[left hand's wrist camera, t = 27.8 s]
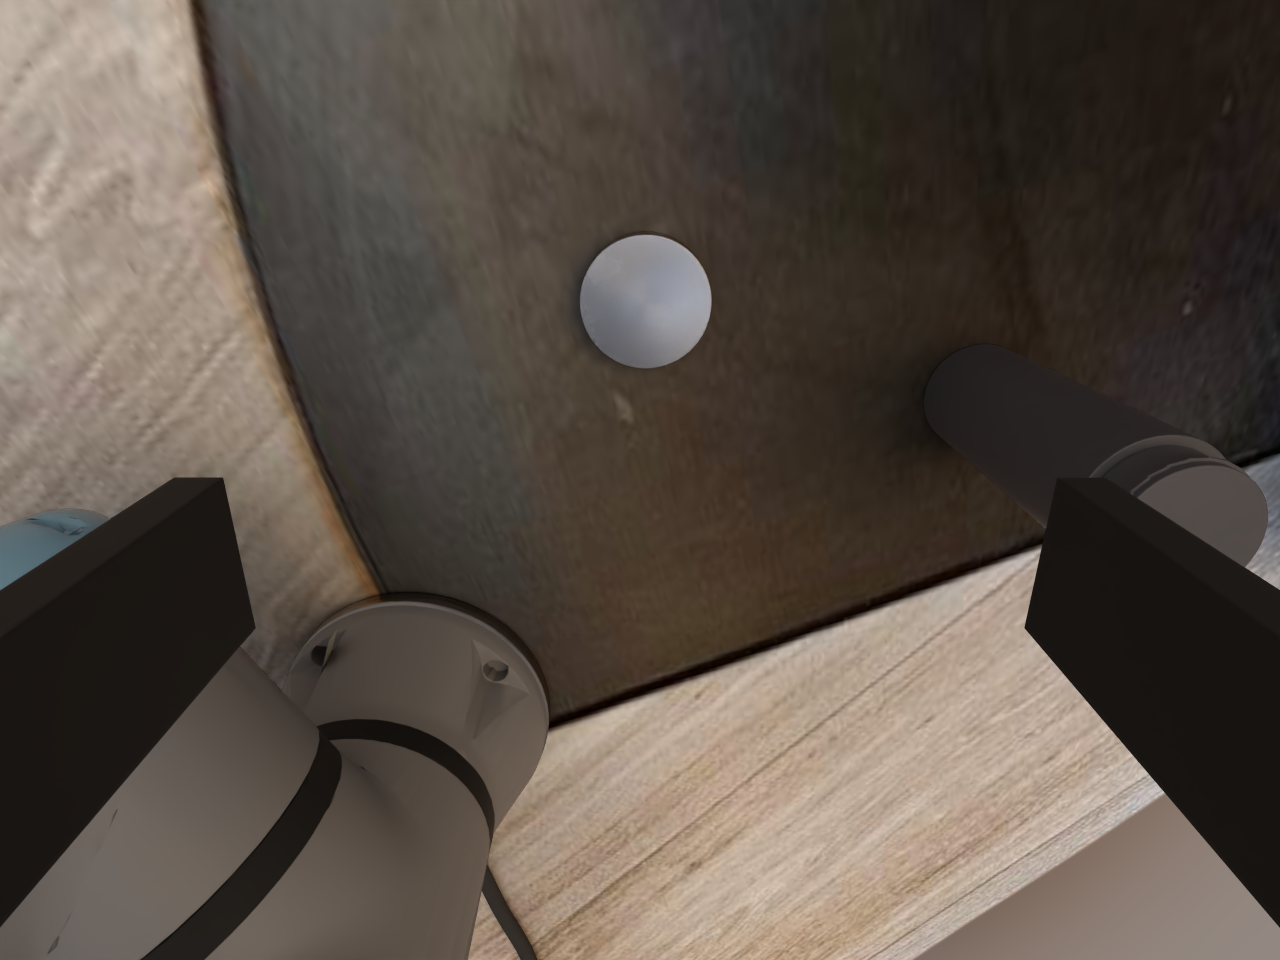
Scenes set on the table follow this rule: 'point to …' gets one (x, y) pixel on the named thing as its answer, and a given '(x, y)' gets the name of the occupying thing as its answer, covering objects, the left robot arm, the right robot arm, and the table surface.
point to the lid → (645, 300)
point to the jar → (1086, 446)
